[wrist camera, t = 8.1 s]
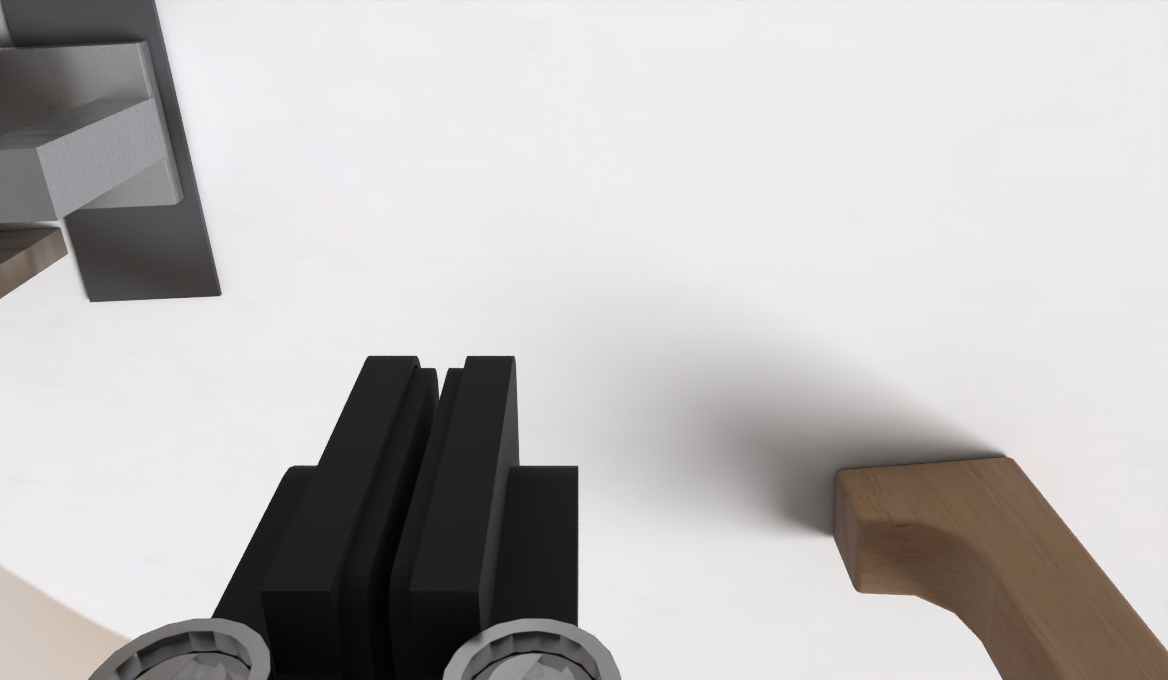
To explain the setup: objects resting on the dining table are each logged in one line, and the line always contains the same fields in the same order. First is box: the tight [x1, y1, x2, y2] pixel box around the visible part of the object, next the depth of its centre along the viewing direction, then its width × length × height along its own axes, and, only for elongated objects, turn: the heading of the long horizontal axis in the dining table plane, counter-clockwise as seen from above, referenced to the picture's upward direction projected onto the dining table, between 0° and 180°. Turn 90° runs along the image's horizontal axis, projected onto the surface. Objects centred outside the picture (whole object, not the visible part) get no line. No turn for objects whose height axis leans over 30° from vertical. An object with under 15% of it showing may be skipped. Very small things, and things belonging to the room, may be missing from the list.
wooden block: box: [834, 457, 1168, 680], centre depth 39 cm, size 9×4×18 cm, turn 95°
